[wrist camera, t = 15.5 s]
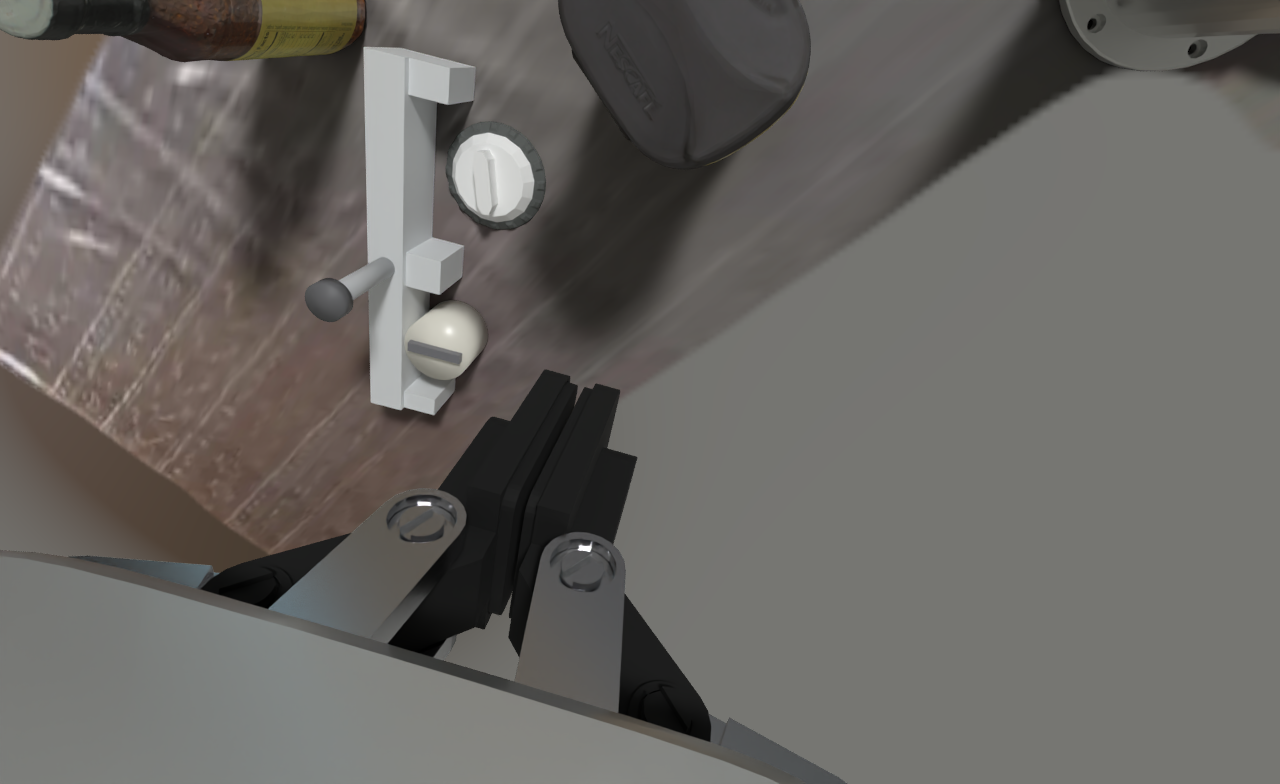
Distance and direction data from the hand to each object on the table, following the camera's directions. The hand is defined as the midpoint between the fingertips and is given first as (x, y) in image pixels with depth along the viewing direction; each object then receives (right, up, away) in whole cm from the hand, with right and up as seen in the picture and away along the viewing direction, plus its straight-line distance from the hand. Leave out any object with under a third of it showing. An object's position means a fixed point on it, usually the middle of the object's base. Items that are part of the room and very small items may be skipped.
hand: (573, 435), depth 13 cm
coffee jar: (+6, +22, +23) cm, 32 cm away
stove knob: (-9, +16, +29) cm, 34 cm away
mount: (-14, +12, +32) cm, 37 cm away
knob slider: (-13, +6, +35) cm, 38 cm away
